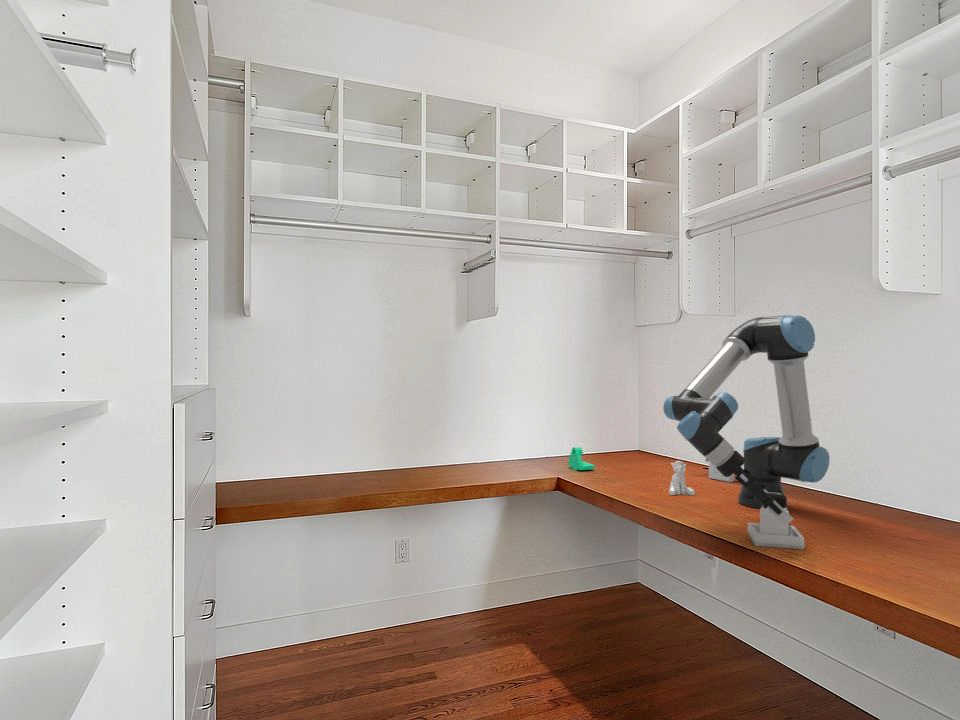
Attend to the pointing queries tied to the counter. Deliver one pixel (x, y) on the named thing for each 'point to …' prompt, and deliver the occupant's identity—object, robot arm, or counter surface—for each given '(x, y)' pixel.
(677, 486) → the white creature statuette
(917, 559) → the counter surface
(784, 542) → the grey square tray
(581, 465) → the green angular piece
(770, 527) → the medicine bottle
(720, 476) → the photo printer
